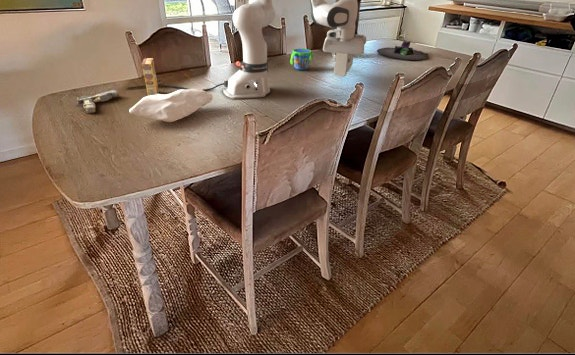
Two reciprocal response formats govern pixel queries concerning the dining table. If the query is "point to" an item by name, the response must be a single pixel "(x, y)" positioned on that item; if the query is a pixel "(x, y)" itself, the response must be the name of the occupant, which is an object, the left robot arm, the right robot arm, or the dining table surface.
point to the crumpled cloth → (171, 104)
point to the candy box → (150, 76)
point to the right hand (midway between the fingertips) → (347, 54)
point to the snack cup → (301, 58)
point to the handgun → (95, 100)
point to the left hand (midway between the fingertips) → (342, 62)
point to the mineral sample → (403, 52)
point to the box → (342, 64)
